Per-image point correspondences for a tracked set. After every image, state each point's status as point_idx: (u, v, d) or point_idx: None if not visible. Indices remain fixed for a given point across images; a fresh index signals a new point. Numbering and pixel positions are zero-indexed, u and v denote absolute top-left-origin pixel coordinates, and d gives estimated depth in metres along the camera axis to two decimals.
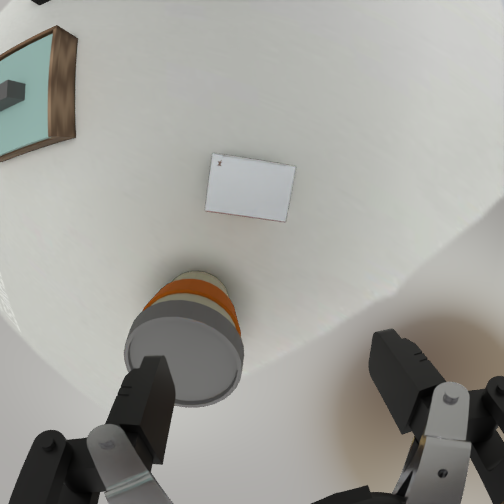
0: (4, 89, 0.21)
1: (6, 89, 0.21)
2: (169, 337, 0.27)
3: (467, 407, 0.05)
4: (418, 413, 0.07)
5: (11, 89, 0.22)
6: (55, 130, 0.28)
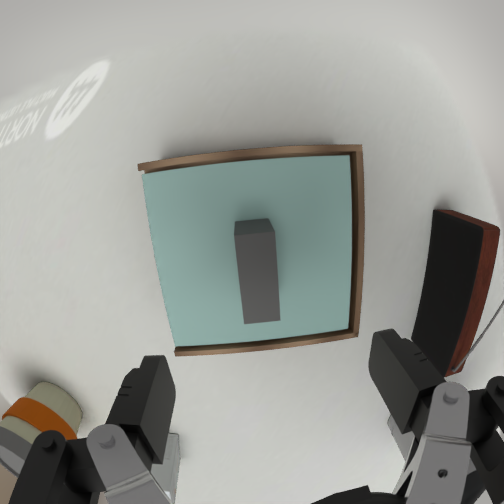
0: (262, 315, 0.19)
1: (260, 320, 0.19)
2: None
3: (467, 407, 0.05)
4: (418, 413, 0.07)
5: None
6: None
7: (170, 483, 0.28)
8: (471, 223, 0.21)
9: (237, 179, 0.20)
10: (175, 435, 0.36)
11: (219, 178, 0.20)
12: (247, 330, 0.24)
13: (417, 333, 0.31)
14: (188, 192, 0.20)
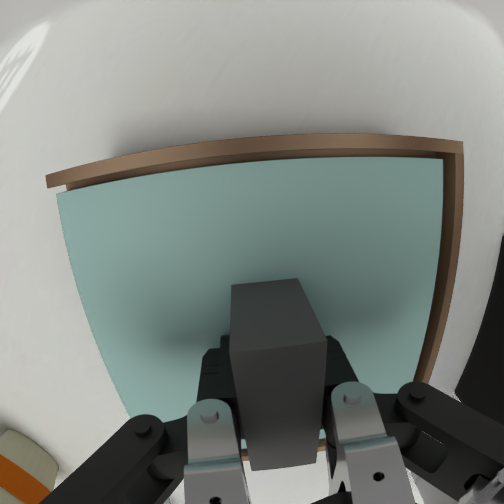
0: (284, 460, 0.09)
1: (280, 465, 0.09)
2: None
3: (366, 410, 0.07)
4: (325, 410, 0.08)
5: None
6: None
7: None
8: None
9: (236, 201, 0.10)
10: None
11: (198, 199, 0.10)
12: None
13: (464, 388, 0.21)
14: (138, 228, 0.10)
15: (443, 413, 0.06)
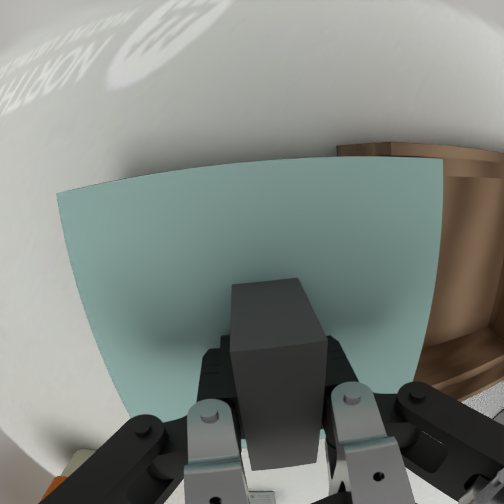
0: (284, 460, 0.09)
1: (280, 465, 0.09)
2: None
3: (366, 410, 0.07)
4: (324, 410, 0.08)
5: None
6: None
7: None
8: None
9: (236, 201, 0.10)
10: (271, 493, 0.26)
11: (198, 199, 0.10)
12: None
13: None
14: (138, 228, 0.10)
15: (443, 413, 0.06)
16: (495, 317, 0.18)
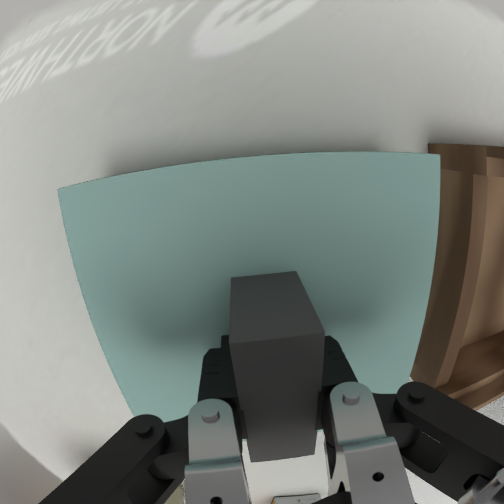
0: (283, 451, 0.09)
1: (279, 456, 0.09)
2: None
3: (365, 410, 0.07)
4: (324, 410, 0.08)
5: None
6: None
7: None
8: None
9: (235, 195, 0.10)
10: (316, 495, 0.25)
11: (197, 193, 0.10)
12: None
13: None
14: (138, 222, 0.10)
15: (442, 413, 0.06)
16: None
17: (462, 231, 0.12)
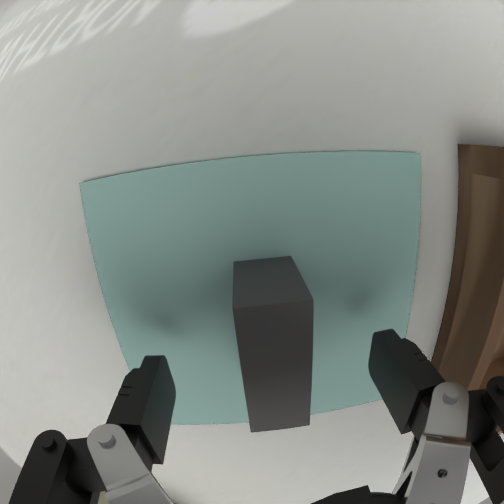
0: (280, 421, 0.10)
1: (277, 426, 0.10)
2: None
3: (467, 407, 0.06)
4: (418, 413, 0.07)
5: None
6: None
7: None
8: None
9: (237, 189, 0.11)
10: None
11: (205, 187, 0.11)
12: None
13: None
14: (153, 212, 0.12)
15: None
16: None
17: (498, 248, 0.10)
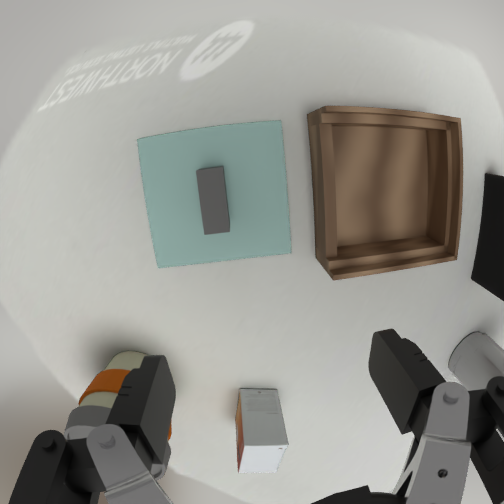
0: (216, 227, 0.27)
1: (215, 231, 0.28)
2: None
3: (467, 407, 0.05)
4: (418, 413, 0.07)
5: None
6: None
7: (286, 436, 0.32)
8: None
9: (201, 139, 0.28)
10: (274, 390, 0.40)
11: (189, 139, 0.28)
12: (211, 252, 0.32)
13: (477, 272, 0.36)
14: (168, 149, 0.28)
15: None
16: (429, 227, 0.32)
17: (319, 155, 0.27)
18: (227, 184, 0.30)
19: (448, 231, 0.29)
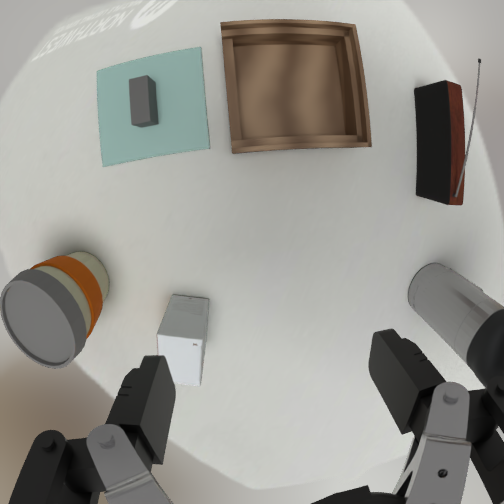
0: (140, 118, 0.31)
1: (139, 121, 0.31)
2: (54, 320, 0.27)
3: (467, 407, 0.05)
4: (418, 413, 0.07)
5: (142, 123, 0.32)
6: (239, 152, 0.32)
7: (203, 333, 0.34)
8: (439, 82, 0.28)
9: (141, 66, 0.32)
10: (206, 299, 0.42)
11: (132, 67, 0.32)
12: (144, 150, 0.35)
13: (420, 186, 0.38)
14: (117, 75, 0.32)
15: None
16: (346, 127, 0.35)
17: (224, 62, 0.30)
18: (157, 95, 0.33)
19: (359, 122, 0.31)
